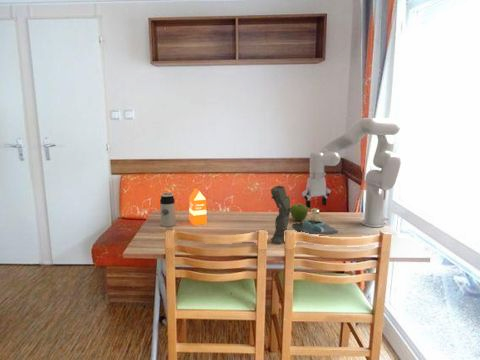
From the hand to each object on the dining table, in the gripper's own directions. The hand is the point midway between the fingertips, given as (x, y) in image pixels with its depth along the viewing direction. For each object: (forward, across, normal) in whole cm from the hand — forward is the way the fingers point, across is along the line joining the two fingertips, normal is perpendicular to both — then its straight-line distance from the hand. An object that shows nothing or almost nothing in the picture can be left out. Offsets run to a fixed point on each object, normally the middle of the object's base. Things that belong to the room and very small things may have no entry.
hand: (316, 206), depth 196 cm
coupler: (+12, +1, 0) cm, 12 cm away
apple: (+14, +1, -18) cm, 23 cm away
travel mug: (+11, +76, -33) cm, 84 cm away
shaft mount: (+13, +1, 0) cm, 13 cm away
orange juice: (+12, +59, -32) cm, 68 cm away
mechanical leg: (+13, +26, +10) cm, 31 cm away
